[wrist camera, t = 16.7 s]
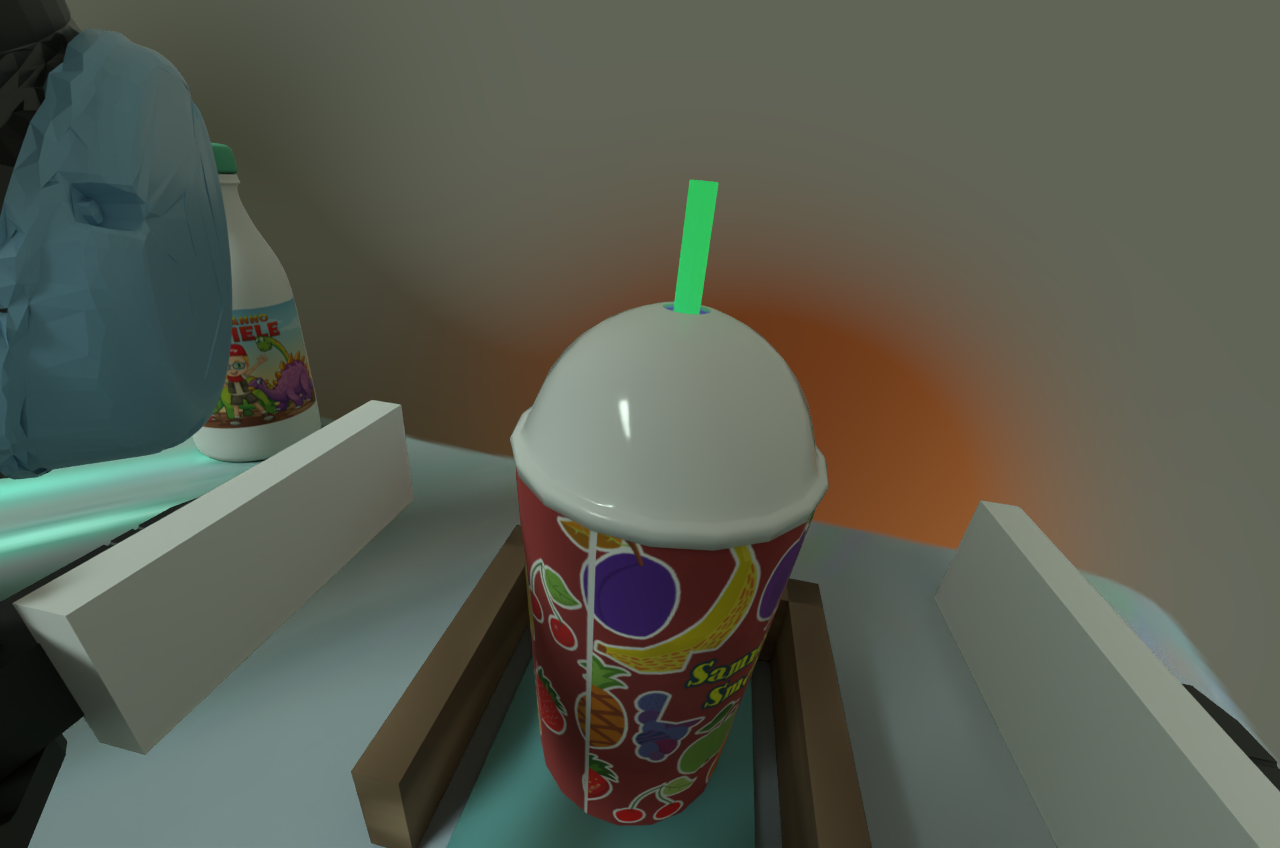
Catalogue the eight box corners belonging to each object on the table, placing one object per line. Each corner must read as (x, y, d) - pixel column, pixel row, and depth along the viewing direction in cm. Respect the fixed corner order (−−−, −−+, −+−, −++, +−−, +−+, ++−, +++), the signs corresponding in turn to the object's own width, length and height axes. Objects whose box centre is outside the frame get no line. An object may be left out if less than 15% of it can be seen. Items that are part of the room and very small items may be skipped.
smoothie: (718, 923, 15) (978, 202, 6) (473, 822, 17) (406, 147, 8) (743, 685, 22) (878, 201, 13) (571, 631, 24) (592, 172, 15)
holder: (371, 842, 16) (351, 771, 14) (518, 583, 27) (516, 524, 25) (842, 980, 14) (885, 917, 13) (798, 643, 25) (818, 584, 23)
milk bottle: (189, 433, 37) (84, 129, 29) (306, 409, 43) (247, 145, 34) (208, 477, 33) (89, 130, 24) (336, 444, 38) (277, 149, 29)
